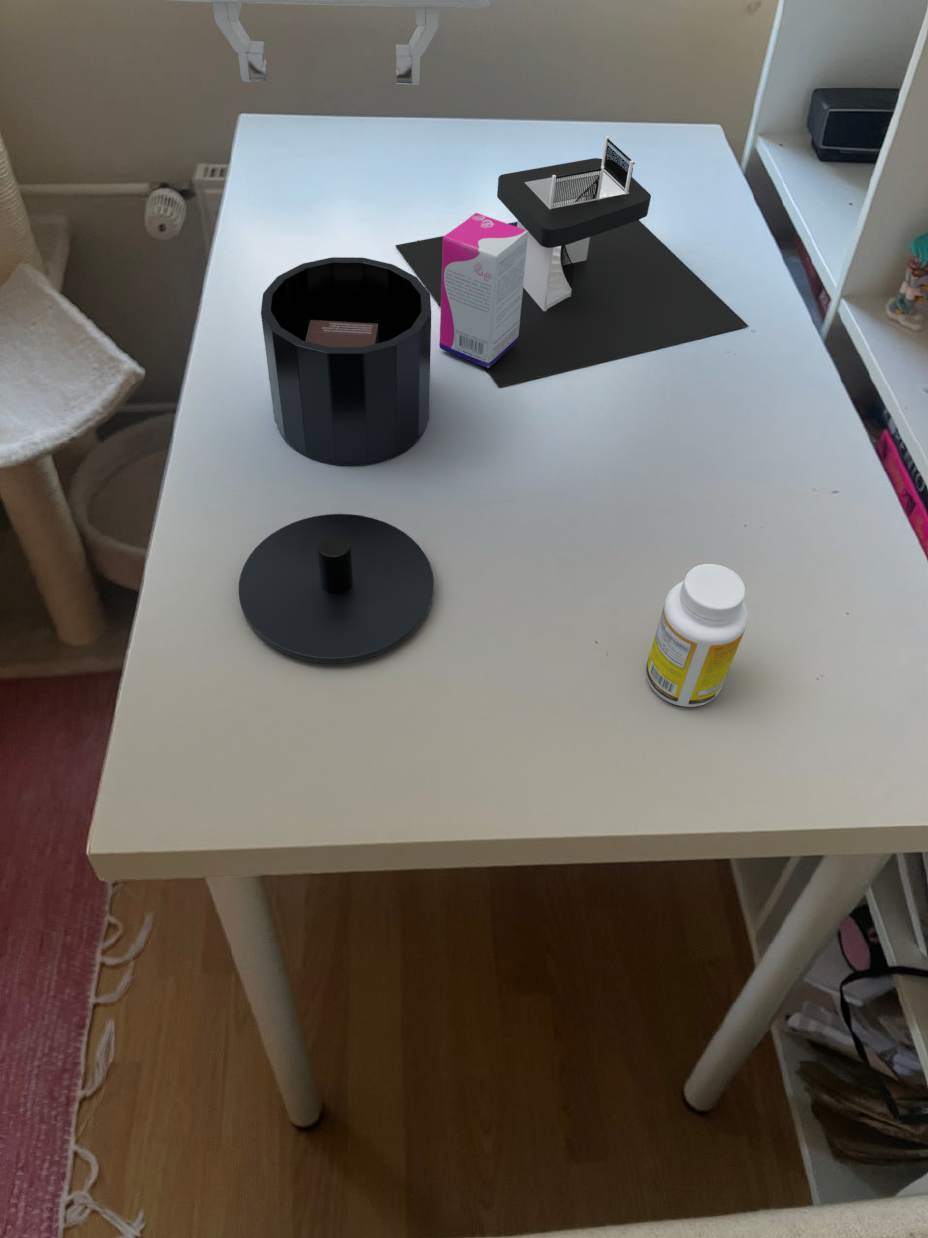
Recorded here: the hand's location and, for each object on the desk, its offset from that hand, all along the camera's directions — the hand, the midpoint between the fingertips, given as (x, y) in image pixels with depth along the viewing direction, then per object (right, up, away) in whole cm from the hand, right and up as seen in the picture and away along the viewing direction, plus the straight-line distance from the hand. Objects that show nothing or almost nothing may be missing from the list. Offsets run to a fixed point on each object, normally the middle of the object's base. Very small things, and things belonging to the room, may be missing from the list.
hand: (331, 79), depth 62 cm
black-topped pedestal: (+19, +1, +43) cm, 47 cm away
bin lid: (-1, -31, +14) cm, 34 cm away
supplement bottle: (+24, -38, +11) cm, 46 cm away
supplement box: (+10, -7, +35) cm, 37 cm away
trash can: (-2, -15, +28) cm, 32 cm away
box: (-2, -15, +27) cm, 31 cm away
